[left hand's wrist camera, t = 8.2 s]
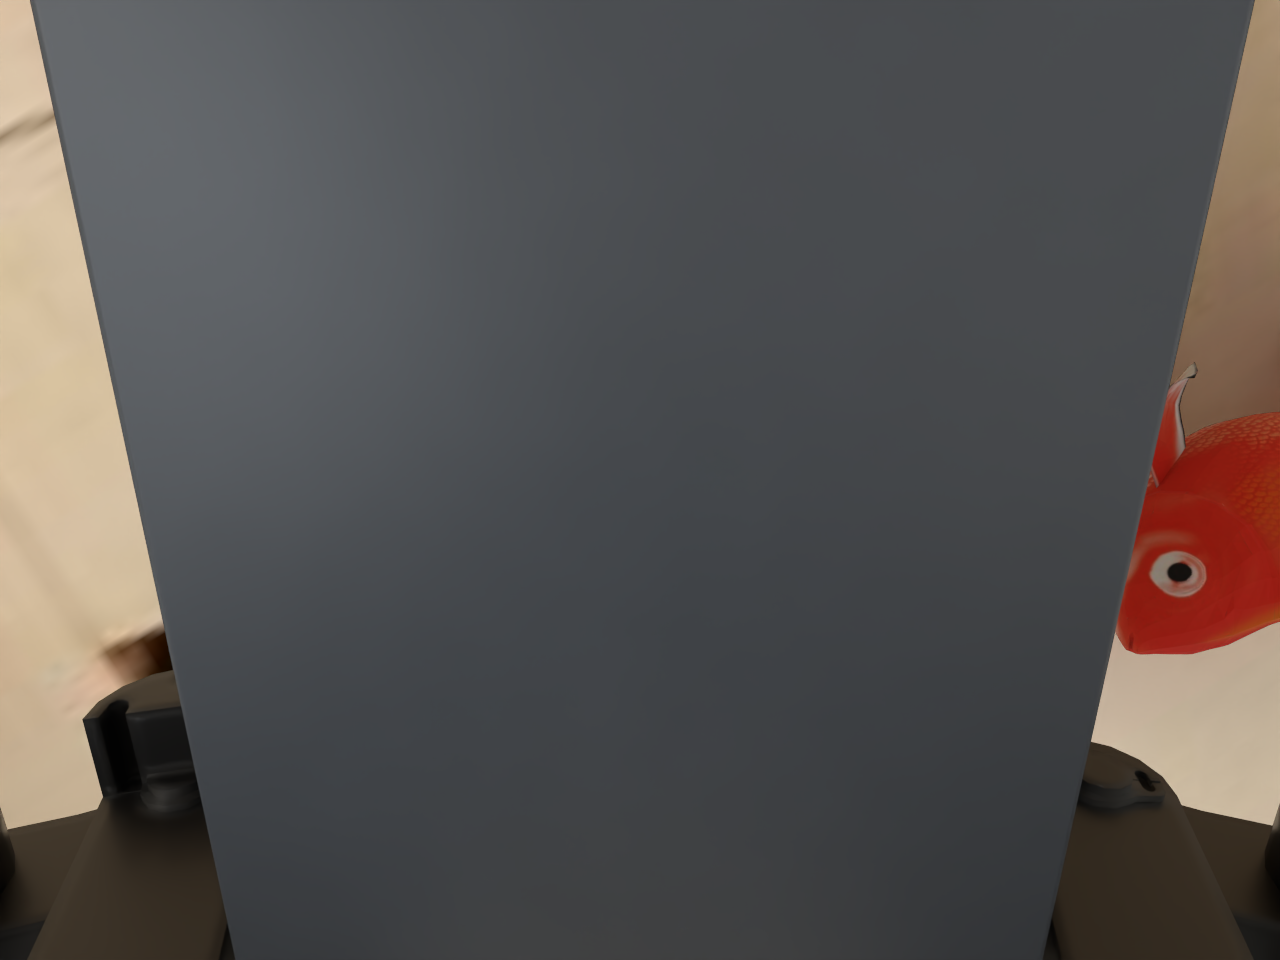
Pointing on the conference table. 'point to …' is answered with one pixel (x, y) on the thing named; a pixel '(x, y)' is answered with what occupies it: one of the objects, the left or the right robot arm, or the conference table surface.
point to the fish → (1205, 536)
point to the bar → (640, 447)
